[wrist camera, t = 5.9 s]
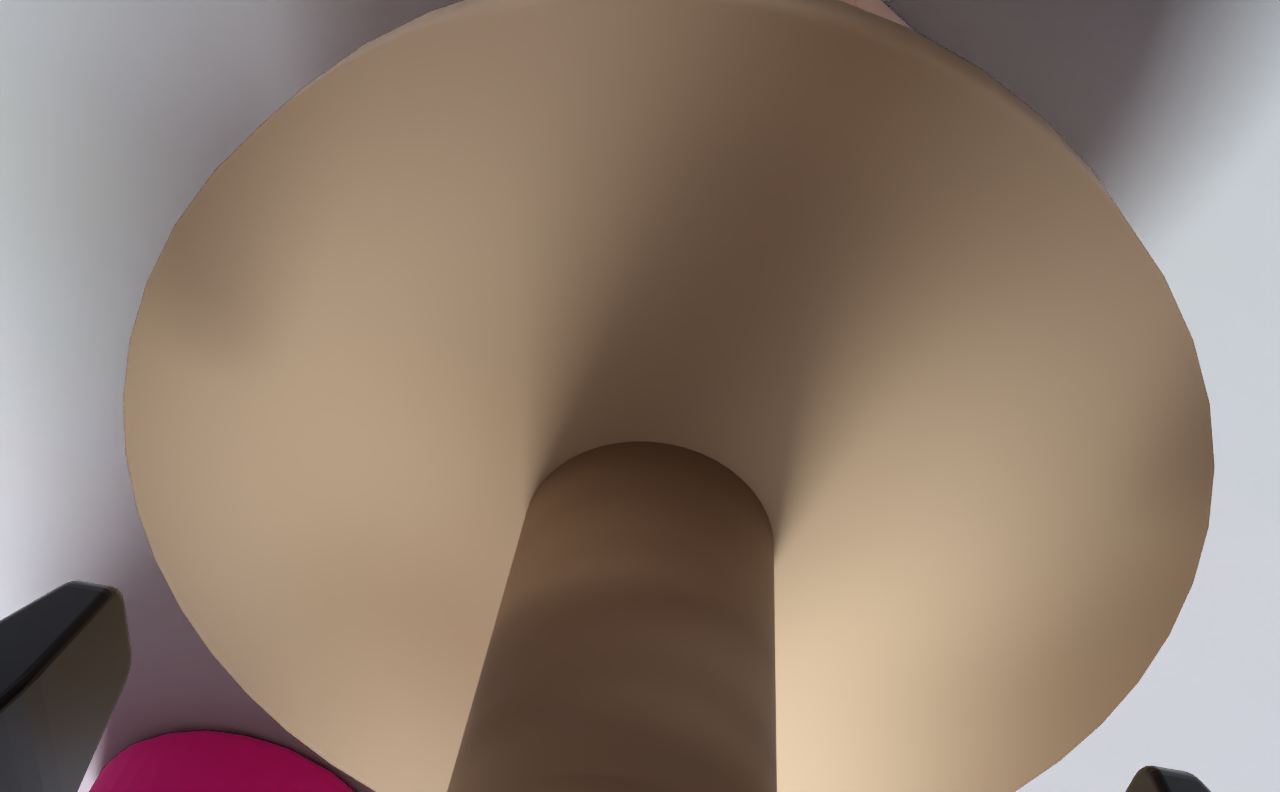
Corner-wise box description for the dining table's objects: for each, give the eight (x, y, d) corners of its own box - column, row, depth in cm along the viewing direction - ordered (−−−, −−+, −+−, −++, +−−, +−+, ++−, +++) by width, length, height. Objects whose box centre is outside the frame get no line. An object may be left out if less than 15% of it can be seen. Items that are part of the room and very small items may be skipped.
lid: (1391, 89, 10) (1878, 404, 5) (988, 868, 16) (1072, 1310, 11) (115, -133, 10) (-388, 12, 5) (200, 732, 16) (-8, 1124, 11)
